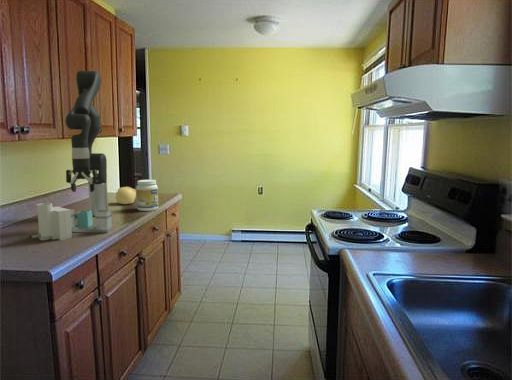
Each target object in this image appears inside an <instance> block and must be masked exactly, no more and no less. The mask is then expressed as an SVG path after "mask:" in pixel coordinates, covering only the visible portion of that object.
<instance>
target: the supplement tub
mask: <svg viewBox="0 0 512 380" xmlns="http://www.w3.org/2000/svg"><path fill="white" fill-rule="evenodd" d="M136 182H137V183H136V184H137V185H136V187H135V190H136V197H135V199H136V209H137V210H138V211H141V212H152V211H156V210H159V187H158V185H157V180H156V179H140V180H137V181H136Z"/></svg>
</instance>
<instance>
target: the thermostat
mask: <svg viewBox="0 0 512 380" xmlns="http://www.w3.org/2000/svg"><path fill="white" fill-rule="evenodd" d="M36 207H37V208H36V211H37V220H38V221H37V223H38V231H37V232H38V233H37V234H33V235H29V239H35V238H39V241H47V240H60V241H63V240H68V239H73V232H72V228H71V214H70V210H69V208H64V207H61V206H58V205H57V206H53V203H52V202H42V203H37V204H36Z"/></svg>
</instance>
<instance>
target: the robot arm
mask: <svg viewBox="0 0 512 380" xmlns="http://www.w3.org/2000/svg"><path fill="white" fill-rule="evenodd" d="M75 77H76V78H75V79H76V87H77V91H78V93H77V94H78V96H77V98H76V99H75V103H74V106H73V107H72V109H71V110H70V111H69V112H68V114H67V115H66V117H65V120H64V121H65V126H66V127H67V128H68V129H69V130H81V132H80V133H79V134H73V135H72V136H71V138H70V139H71V141H70V142H71V162H72V169H67V170H66V171H65V182H66V183H68V184H70V189H71V191H72V193H75V192H76V191H77V186H76V185H77V184H76V182H77V181H78V180H86V181H87V184H88V186H87V187H88V198H89V199H88V201H89V211H92V217H95V216H96V215H95V212H97V211H99V210H109V202H108V201H109V198H108V197H109V196H108V183H107V179H108V178H107V177H108V176H107V175H108V173H107V171H108V170H107V168H108V166H107V165H108V164H107V163H108V162H107V156H106V154H105V153H102V152H101V153H99V152H98V153H97V152H95V153H93V152H92V151H93V150H92V149H93V148H92V147H93V144H94V142H95V140H96V138H97V136H98V135H99V133H100V131H101V126H102V125H101V115H100V114H99V112H98V110H97V109H96V108H95V106H94V105H93V102H94V100H95V98H96V96H97V94H98V92H99V90H100V89H101V84H102V78H101V74H100V73H99V71H96V70H78V71H77V72H76V75H75ZM91 174H92V176H91ZM72 175H73V177H72Z"/></svg>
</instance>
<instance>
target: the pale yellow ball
mask: <svg viewBox="0 0 512 380" xmlns="http://www.w3.org/2000/svg"><path fill="white" fill-rule="evenodd" d="M115 200H116V202H117V204H120V205H128V204H133V203H134V202H135V200H136V188H132V187H130V186H123V187H122V186H121V187H120V188H118V189H117V191H116V193H115Z"/></svg>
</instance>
